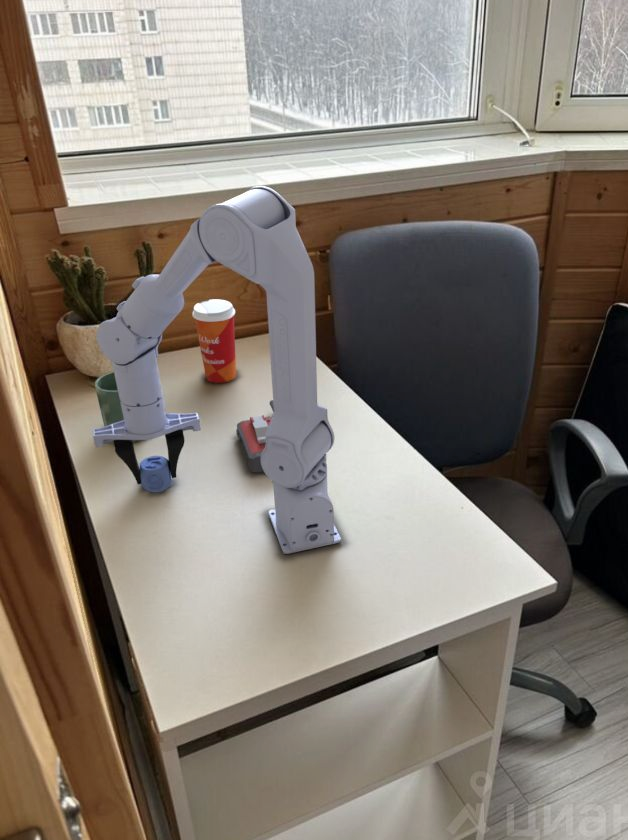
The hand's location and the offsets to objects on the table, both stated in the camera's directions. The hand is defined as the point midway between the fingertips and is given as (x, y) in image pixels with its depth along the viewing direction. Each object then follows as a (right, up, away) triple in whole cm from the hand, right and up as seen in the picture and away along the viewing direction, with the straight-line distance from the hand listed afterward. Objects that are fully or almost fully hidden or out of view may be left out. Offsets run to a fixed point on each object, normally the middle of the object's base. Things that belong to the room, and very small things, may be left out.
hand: (156, 477), depth 107 cm
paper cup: (+4, +18, +30) cm, 35 cm away
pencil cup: (-8, +7, +13) cm, 17 cm away
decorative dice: (0, -1, +1) cm, 2 cm away
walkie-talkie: (+15, +6, +11) cm, 19 cm away
